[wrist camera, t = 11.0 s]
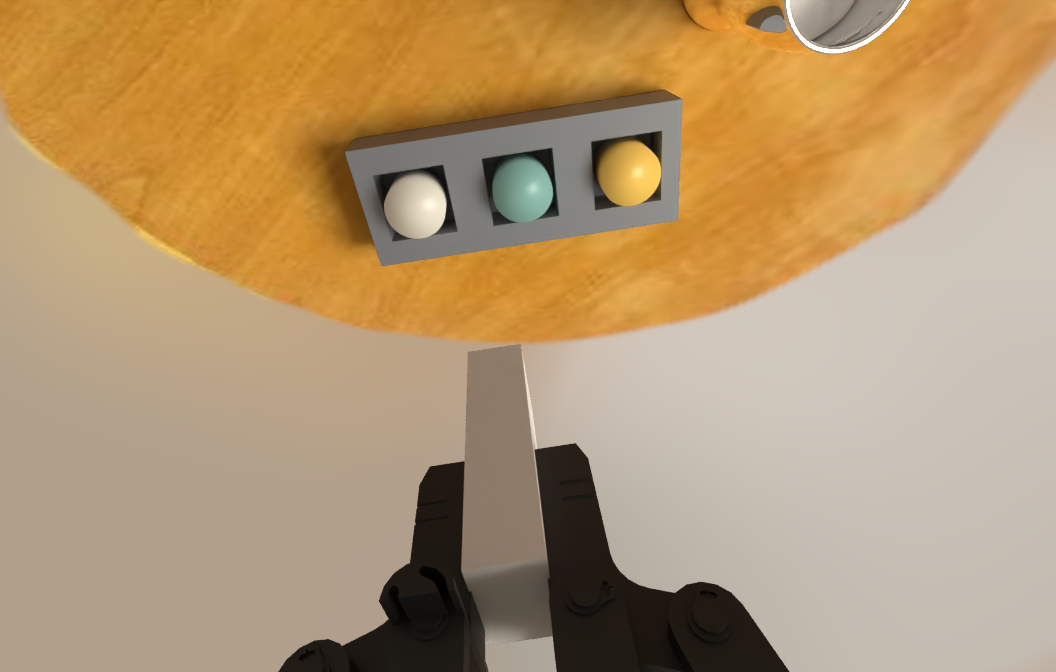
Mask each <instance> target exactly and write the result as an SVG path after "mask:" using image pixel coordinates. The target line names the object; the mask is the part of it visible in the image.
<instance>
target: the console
mask: <svg viewBox="0 0 1056 672" xmlns="http://www.w3.org/2000/svg"><path fill="white" fill-rule="evenodd" d="M682 100H683V99H681V98H679V97H677V96H676V95H674V94H672V93H670V92H668V91H666V90H663V91H656V92H650V93H643V94H637V95H631V96H624V97H618V98H611V99H605V100H599V101H592V102H586V103H580V104H573V105H567V106H560V107H554V108H548V109H541V110H535V111H528V112H522V113H516V114H509V115H503V116H496V117H490V118H484V119H477V120H471V121H464V122H458V123H452V124H445V125H439V126H432V127H426V128H420V129H413V130H407V131H401V132H394V133H388V134H381V135H375V136H369V137H362V138H356V139H355V140H354V141H353V142H352V144H351V145H350V146H349V147H348V148H347V150H346V151H345V155H346V158H347V161H348V164H349V168H350V171H351V174H352V177H353V180H354V183H355V186H356V189H357V192H358V195H359V198H360V201H361V205H362V208H363V211H364V214H365V217H366V220H367V223H368V226H369V229H370V232H371V235H372V238H373V242H374V245H375V248H376V251H377V254H378V257H379V260H380V263H381V266H387V265H393V264H400V263H406V262H413V261H419V260H426V259H432V258H439V257H445V256H452V255H458V254H465V253H471V252H478V251H484V250H491V249H497V248H503V247H510V246H516V245H523V244H529V243H536V242H542V241H549V240H555V239H562V238H568V237H575V236H581V235H588V234H594V233H601V232H607V231H614V230H620V229H627V228H633V227H639V226H646V225H652V224H659V223H665V222H672V221H678V208H679V181H680V154H681V127H682ZM624 136H633V137H635V138H637V139H639V140H640V141H641V142H642V143H643V144H644V145H646V146H647V147H648V148H649V149H650V150H651V151H652V152H653V153H654V154H655V155H656V157H657V158H658V160H659V162H660V166H661V178H660V182H659V185H658V187H657V189H656V190H655V192H654V193H653V194H652V195H651V196H650V197H649V198H648V199H647V200H645V201H644V202H642V203H640V204H637V205H634V206H621V205H617V204H615V203H613V202H612V201H611V200H610V199H608V197H607V196H606V195H605V193H604V191H603V190H602V188H601V187H600V185H599V183H598V182H597V180H596V178H595V176H594V171H593V163H594V158H595V155H596V153H597V151H598V150H599V148H600V147H601V146H602V145H603V144H604V143H605V142H606V141H607V140H609V139H611V138H618V137H624ZM521 152H529V153H531V154H533V155H535V156H537V157H538V158H539V159H540V160H541V161H542V162H543V164H544V165H545V168H546V170H547V173H548V175H549V178H550V181H551V184H552V188H553V197H552V201H551V204H550V206H549V208H548V209H547V211H546V212H545V213H544V214H543V215H542V216H540V217H539V218H537V219H535V220H533V221H530V222H515V221H511V220H509V219H507V218H506V217H504V216H503V215H502V214H501V213H500V212H499V211H498V209H497V208H496V206H495V203H494V200H493V190H492V174H493V170H494V168H495V166H496V164H497V163H498V161H499V160H500V159H501V158H502V157H504V156H505V155H509V154H515V153H521ZM419 168H425V169H428V170H430V171H432V172H434V173H435V174H436V175H437V176H438V177H439V178H440V179H441V180H442V181H443V183H444V185H445V187H446V190H447V195H448V199H447V207H446V213H445V219H444V222H443V224H442V226H441V227H440V229H439V230H438V231H437V232H436V233H434V234H433V235H431V236H429V237H426V238H420V239H414V238H409V237H406V236H403V235H401V234H400V233H398V232H397V231H396V230H394V229H393V228H392V226H391V225H390V224H389V222H388V220H387V218H386V216H385V212H384V203H385V199H386V196H387V194H388V191H389V189H390V187H391V185H392V183H393V181H394V179H395V178H396V176H397V175H398V174H399V173H401V172H402V171H406V170H412V169H419Z"/></svg>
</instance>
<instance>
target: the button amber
mask: <svg viewBox="0 0 1056 672" xmlns="http://www.w3.org/2000/svg"><path fill="white" fill-rule="evenodd" d="M593 171H594V176H595V178H596V180H597V182H598V183H599V185H600V187H601V188H602V190H603V191H604V193H605V195H606V196H607V197H608V199H610V200H611V201H612V202H613V203H615V204H617V205H621V206H634V205H637V204H640V203H642V202H644V201H645V200H647V199H648V198H649V197H650V196H651V195H652V194H653V193H654V192H655V190H656V189H657V187H658V185H659V182H660V178H661V166H660V162H659V160H658V158H657V157H656V155H655V154H654V153H653V152H652V151H651V150H650V149H649V148H648V147H647V146H646V145H644V144H643V143H642V142H641V141H640V140H639V139H637V138H635V137H633V136H624V137H618V138H611V139H609V140H607V141H606V142H605V143H604V144H603V145H602V146H601V147H600V148H599V150H598V151H597V153H596V155H595V158H594V163H593Z"/></svg>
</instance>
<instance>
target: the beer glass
mask: <svg viewBox="0 0 1056 672" xmlns="http://www.w3.org/2000/svg"><path fill="white" fill-rule="evenodd" d="M683 2H684V5H685V8H686V10H687V12H688V14H689V16H690V17H691V18H692V19H693V20H694V21H695V22H696V23H697V24H698V25H700V26H701V27H703V28H706V29H709V30H725V29H730V28H734V29H735V30H736V31H737V32H739V33H740V34H741V35H743V36H744V37H746V38H747V39H749V40H751V41H753V42H754V43H756V44H758V45H761V46H763V47H767V48H770V49H774V50H778V51H784V52H792V53H820V54H827V55H834V54H842V53H846V52H850V51H853V50H855V49H858V48H860V47H862V46H864V45H866V44H867V43H869V42H871V41H872V40H874V39H875V38H877V37H878V36H879V35H880V34H882V33H883V32H884V31H885V30H886V29H887V28H888V27H889V26H890V25H891V24H892V23H893V22H894V21H895V20H896V19H897V18H898V17H899V15H900V14H901V13H902V12H903V10H904V9H905V8H906V6H907V5H908V3H909V2H910V0H683Z"/></svg>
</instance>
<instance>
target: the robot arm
mask: <svg viewBox="0 0 1056 672" xmlns="http://www.w3.org/2000/svg"><path fill="white" fill-rule="evenodd" d="M467 372H468V373H467V403H466V436H465V438H466V439H465V461H463V462H457V463H450V464H444V465H437V466H431V467H430V468H429V469H428V471H427V473H426V475H425V476H424V478H423V480H422V482H421V483H420V486H419V493H418V502H417V510H416V519H415V523H416V525H415V527H414V535H413V543H412V551H411V560H410V563H409V564H407V565H405V566H404V567H403V568H401V569H399V570H398V571H397V572H395V573H394V574H393V575H392V577H391V578H390V579H389V580H388V582H387V583H386V584H385V586H384V588H383V591H382V593H381V596H380V600H379V602H380V604H381V606H382V608H383V609H384V611H385V613H386V615H387V616H388V618H389V619H388V620H387V621H386V622H385V623H384V624H383V625H381V626H379V627H378V628H376V629H375V630H373V631H371V632H369V633H367V634H366V635H363V636H361V637H359V638H357V639H355V640H353V641H351V642H349V643H347V644H345V645H343V646H341V645H340V643H337V642H334V641H332V640H329V639H326V640H316V641H313V642H311V643H309V644H307V645H305V646H303V647H301V648H299V649H298V650H297V651H296V652H295V653H294V654H292V655H291V656H290V657H289V658H288V659H287V660H286V661H285V663H284V664H283V666H282V667H281V669H280V670H279V672H488V668H487V664H486V662H485V638H486V641H487V643H488V645H495V644H502V643H509V642H516V641H521V640H529V639H535V638H542V637H549V636H553V642H554V651H555V660H556V669H557V672H789V670H788V669H787V668H786V666H785V665H784V663H783V662H782V660H781V659H780V658H779V656H778V655H777V653H776V652H775V651H774V649H773V648H772V646H771V645H770V643H769V642H768V640H767V639H766V637H765V636H764V635H763V633H762V632H761V630H760V629H759V627H758V626H757V625H756V623H755V622H754V620H753V619H752V617H751V616H750V614H749V613H748V612H747V610H746V609H745V607H744V606H743V605H742V604H741V602H740V601H738V599H737V598H735V596H734V595H733V594H732V593H731V592H729V591H727V590H725V589H723V588H722V587H720V586H718V585H715V584H710V583H705V582H697V583H693V584H687V585H685V586H684V587H683V588H681V589H680V590H679V591H677V592H676V593H672V592H666V591H661V590H656V589H650V588H647V587H643V586H640V585H638V584H636V583H634V582H632V581H631V580H628V579H627V578H626V577H625V576H624V575H623V574H622V573H621V572H620V571H619V570H618V568H617V567H616V565H615V564H614V562H613V560H612V557H611V554H610V551H609V546H608V542H607V538H606V533H605V530H604V525H603V520H602V516H601V512H600V508H599V503H598V499H597V496H596V491H595V486H594V482H593V478H592V473H591V469H590V465H589V460H588V458H587V457H586V455H585V454H584V453H583V452H582V450H581V449H580V448H579V447H578V446H577V444H575V443H574V444H568V445H561V446H555V447H548V448H542V449H537V444H536V435H535V428H534V420H533V413H532V407H531V401H530V395H529V389H528V383H527V377H526V371H525V365H524V360H523V354H522V348H521V344H517V345H511V346H504V347H497V348H491V349H484V350H478V351H472V352H468V371H467Z"/></svg>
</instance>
